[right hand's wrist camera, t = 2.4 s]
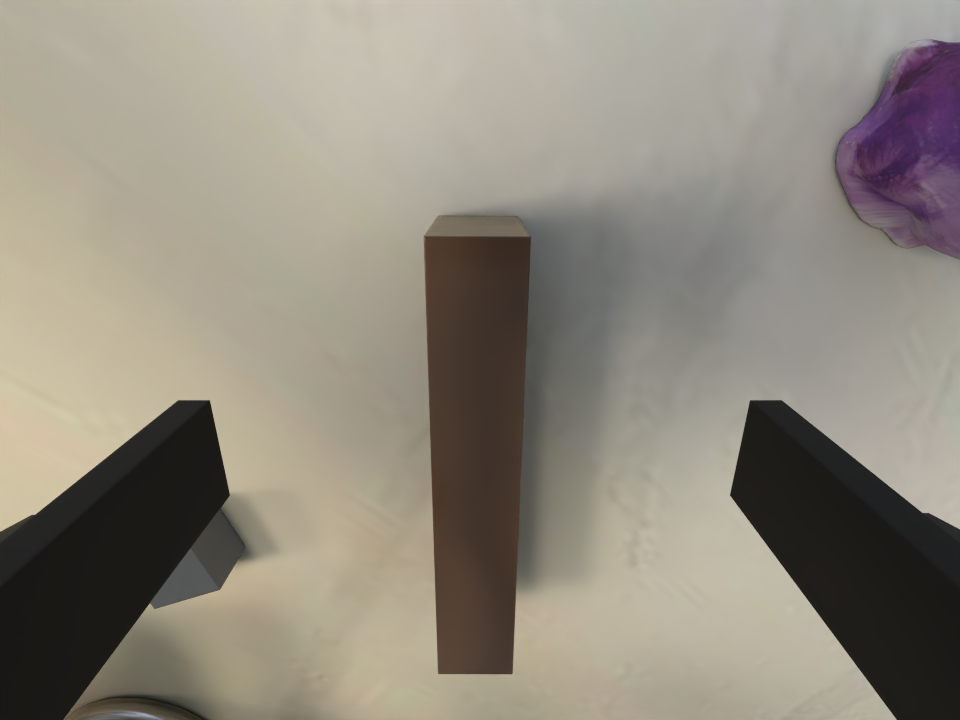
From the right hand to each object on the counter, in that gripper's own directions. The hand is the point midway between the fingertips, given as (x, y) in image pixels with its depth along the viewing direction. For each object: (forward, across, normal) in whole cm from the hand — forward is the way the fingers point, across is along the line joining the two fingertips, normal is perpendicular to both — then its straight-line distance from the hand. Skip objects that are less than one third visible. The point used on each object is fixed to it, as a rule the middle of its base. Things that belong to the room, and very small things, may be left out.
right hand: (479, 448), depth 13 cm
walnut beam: (+19, 0, -9) cm, 21 cm away
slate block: (+19, -20, -18) cm, 33 cm away
